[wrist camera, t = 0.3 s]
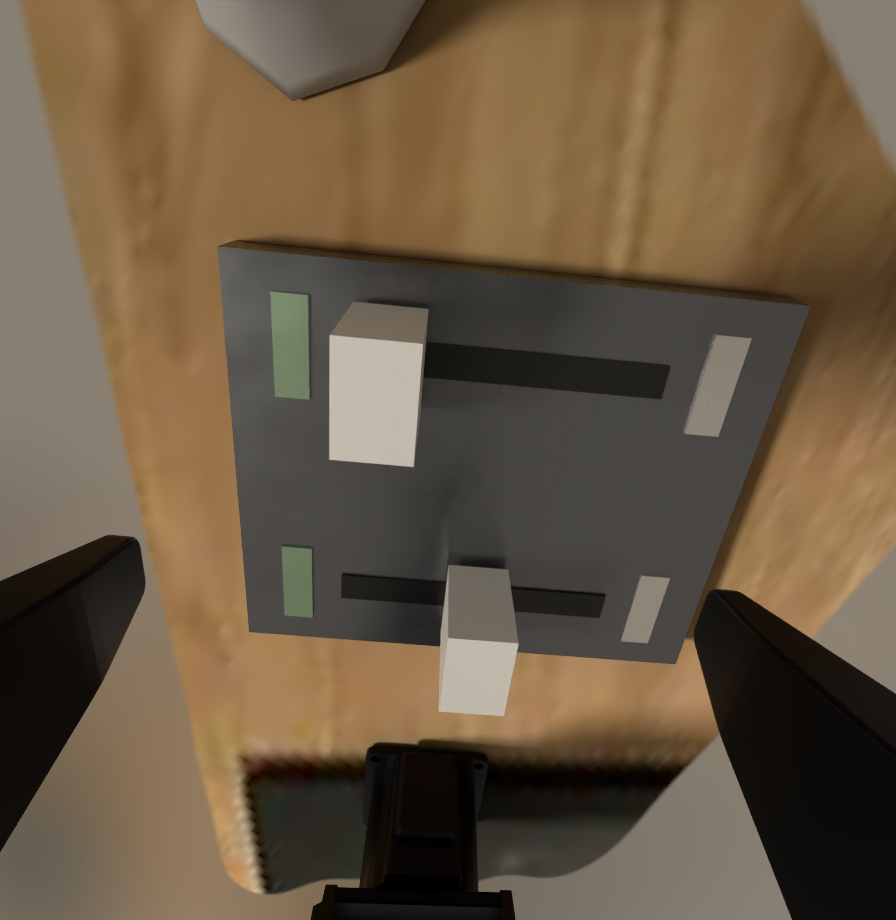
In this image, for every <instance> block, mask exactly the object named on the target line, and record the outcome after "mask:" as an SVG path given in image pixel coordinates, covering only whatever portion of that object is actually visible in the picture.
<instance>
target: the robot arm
mask: <svg viewBox="0 0 896 920" xmlns="http://www.w3.org/2000/svg"><path fill="white" fill-rule="evenodd" d="M144 590H145V574H144V568H143V561H142V555H141V548H140V544H139V542H138V540H137V539H135V538H134V537H129V536H118V535H107V536H104V537H102V538H99V539H97V540H95V541H92V542H90V543H88V544H85V545H83V546H81V547H78V548H76V549H74V550H71V551H69V552H67V553H65V554H62V555H60V556H58V557H55V558H53V559H51V560H48V561H46V562H44V563H41V564H39V565H37V566H34V567H32V568H29V569H27V570H25V571H23V572H20V573H18V574H15V575H13V576H11V577H8V578H6V579H4V580H2V581H0V852H1V850H2V848H3V847H4V845H5V843H6V842H7V840H8V838H9V837H10V835H11V833H12V831H13V830H14V828H15V827H16V825H17V823H18V822H19V820H20V818H21V817H22V815H23V814H24V812H25V810H26V809H27V807H28V805H29V804H30V802H31V800H32V798H33V797H34V795H35V794H36V792H37V790H38V789H39V787H40V785H41V784H42V782H43V780H44V779H45V777H46V775H47V774H48V772H49V771H50V769H51V767H52V765H53V763H54V762H55V761H56V759H57V757H58V756H59V754H60V752H61V751H62V749H63V747H64V746H65V744H66V742H67V740H68V739H69V737H70V736H71V734H72V732H73V730H74V729H75V727H76V726H77V724H78V722H79V721H80V719H81V717H82V716H83V714H84V712H85V711H86V709H87V708H88V706H89V704H90V702H91V701H92V699H93V698H94V696H95V694H96V692H97V691H98V689H99V687H100V685H101V683H102V681H103V680H104V677H105V676H106V674H107V672H108V670H109V667H110V665H111V663H112V661H113V659H114V657H115V655H116V652H117V650H118V648H119V646H120V644H121V642H122V639H123V637H124V635H125V633H126V631H127V629H128V627H129V624H130V622H131V620H132V618H133V616H134V613H135V611H136V609H137V607H138V605H139V603H140V601H141V598H142V596H143V594H144ZM694 642H695V647H696V650H697V654H698V658H699V661H700V665H701V669H702V672H703V676H704V679H705V683H706V687H707V690H708V694H709V698H710V701H711V705H712V709H713V712H714V716H715V719H716V723H717V726H718V729H719V732H720V735H721V738H722V741H723V743H724V746H725V749H726V751H727V754H728V757H729V759H730V762H731V764H732V767H733V769H734V772H735V774H736V777H737V780H738V782H739V785H740V787H741V790H742V792H743V795H744V798H745V800H746V803H747V805H748V808H749V810H750V813H751V816H752V818H753V821H754V823H755V826H756V828H757V831H758V834H759V836H760V839H761V841H762V844H763V846H764V849H765V851H766V854H767V857H768V859H769V862H770V864H771V867H772V869H773V872H774V875H775V877H776V880H777V882H778V885H779V887H780V890H781V892H782V895H783V898H784V900H785V903H786V905H787V908H788V910H789V913H790V916H791V918H792V920H896V694H895V693H894V692H892V691H891V690H889V689H887V688H886V687H884V686H883V685H881V684H880V683H878V682H877V681H875V680H874V679H872V678H870V677H869V676H868V675H866V674H864V673H863V672H861V671H860V670H858V669H857V668H855V667H854V666H852V665H851V664H849V663H848V662H846V661H845V660H843V659H841V658H840V657H838V656H837V655H835V654H834V653H832V652H831V651H829V650H828V649H826V648H825V647H823V646H822V645H820V644H819V643H817V642H816V641H814V640H813V639H811V638H809V637H808V636H806V635H805V634H803V633H802V632H800V631H799V630H797V629H796V628H794V627H793V626H791V625H790V624H788V623H787V622H785V621H783V620H782V619H780V618H779V617H777V616H776V615H774V614H773V613H771V612H770V611H768V610H767V609H765V608H764V607H762V606H761V605H759V604H757V603H756V602H754V601H753V600H751V599H750V598H748V597H747V596H745V595H744V594H742V593H740V592H738V591H733V590H721V589H714V590H712V591H710V592H709V593H708V595H707V597H706V600H705V602H704V605H703V608H702V610H701V613H700V616H699V618H698V621H697V623H696V626H695V630H694ZM487 770H488V758H487V756H486V755H484V754H480V753H467V752H452V751H438V750H423V749H409V748H394V747H380V746H373V747H370V748H369V749H368V750H367V754H366V764H365V786H364V807H363V823H364V824H365V825H366V826H367V831H366V839H365V847H364V854H363V862H362V870H361V878H360V886H359V888H342V887H341V888H340V887H338V886H337V885H326V886H325V890H324V895H323V899H322V902H320V903H318V904H316V905H315V906H313V910H312V915H311V920H515V913H514V906H513V899H512V892H511V891H510V890H500V892H478V865H477V837H476V826H477V821H478V816H479V811H480V806H481V801H482V796H483V791H484V785H485V780H486V775H487Z"/></svg>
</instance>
